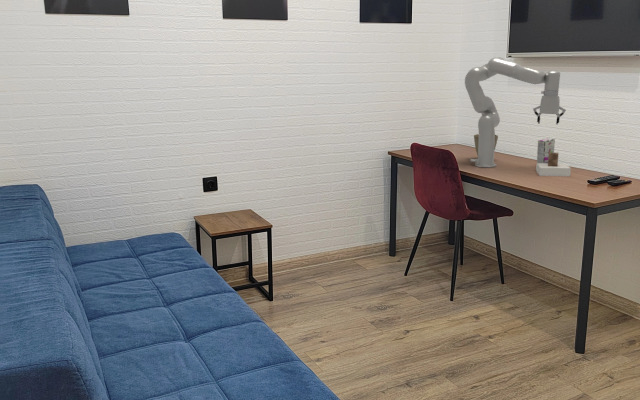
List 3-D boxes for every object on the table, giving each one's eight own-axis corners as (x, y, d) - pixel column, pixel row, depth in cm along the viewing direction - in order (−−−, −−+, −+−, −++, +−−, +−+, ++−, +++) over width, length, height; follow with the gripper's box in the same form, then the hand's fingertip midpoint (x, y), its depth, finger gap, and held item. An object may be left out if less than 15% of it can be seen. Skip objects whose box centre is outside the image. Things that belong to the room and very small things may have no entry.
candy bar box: (545, 164, 356) (547, 138, 353) (553, 166, 353) (555, 139, 349) (535, 167, 350) (537, 140, 346) (543, 168, 346) (545, 141, 342)
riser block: (539, 176, 327) (540, 167, 325) (536, 171, 340) (536, 163, 339) (570, 177, 323) (570, 168, 322) (565, 172, 337) (565, 163, 335)
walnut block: (547, 166, 329) (548, 153, 327) (548, 164, 334) (548, 152, 332) (557, 166, 327) (558, 154, 326) (557, 164, 332) (558, 152, 330)
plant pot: (468, 160, 377) (469, 136, 373) (479, 157, 387) (480, 133, 383) (490, 163, 367) (491, 137, 363) (500, 159, 377) (502, 135, 374)
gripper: (534, 93, 328) (531, 123, 333) (567, 94, 322) (564, 125, 327) (534, 92, 335) (532, 122, 339) (567, 93, 329) (564, 123, 333)
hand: (547, 123), depth 333 cm, fingers open, 9 cm apart
